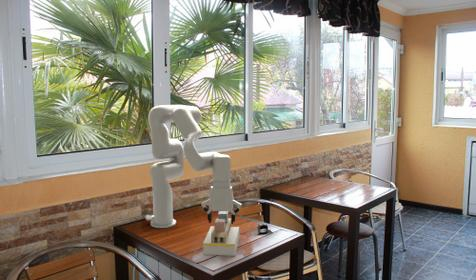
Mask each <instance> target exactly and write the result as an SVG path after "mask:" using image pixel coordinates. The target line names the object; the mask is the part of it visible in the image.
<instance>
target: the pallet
mask: <svg viewBox="0 0 476 280" xmlns="http://www.w3.org/2000/svg"><path fill="white" fill-rule="evenodd" d="M231 227H232V224H231V217H228V222H227V223H225V231H224V232H215V227H214V228H213V230H212V233H211V243H214V242H215V240H216V237H217V243H220V242H221V239H222V237H223V243H226V242H227V238H228V235H229V232H230V228H231Z"/></svg>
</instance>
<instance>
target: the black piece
mask: <svg viewBox="0 0 476 280" xmlns="http://www.w3.org/2000/svg"><path fill="white" fill-rule="evenodd" d="M256 228H257V230H253V231H251V233H252V234H253V235H254V236H263V235H270V234H271V235H272V234H274V232H273V231H272V230H271V229H269V227H268V224H267V223H266V222H262V223H260V222H259V223H258V224H257V227H256Z"/></svg>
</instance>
